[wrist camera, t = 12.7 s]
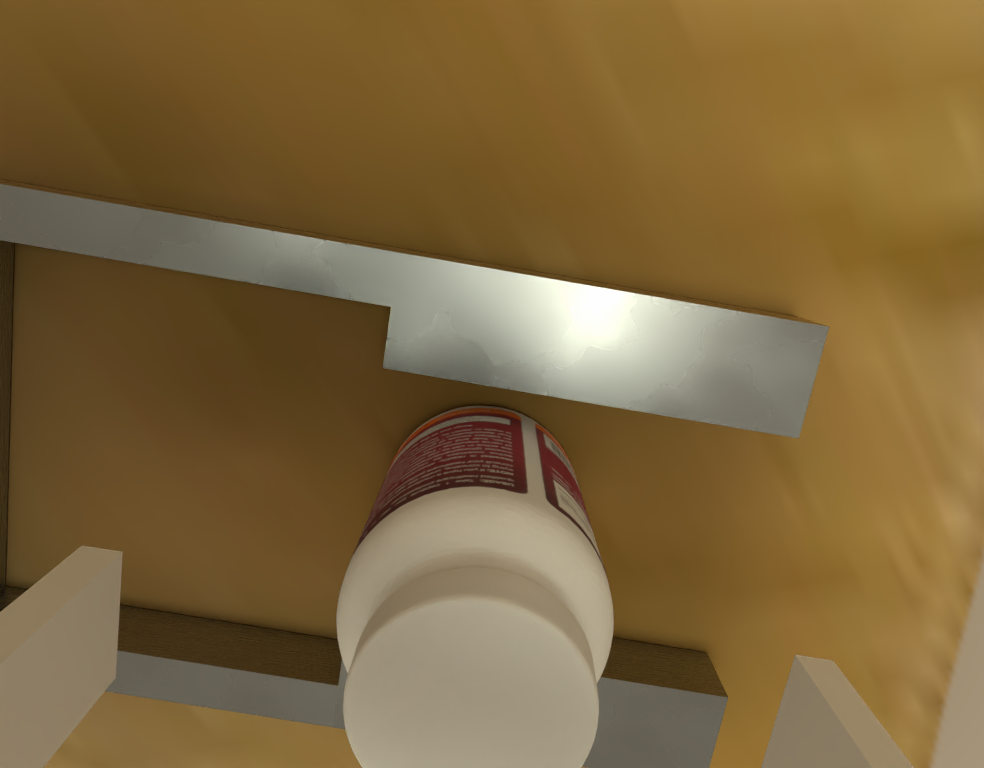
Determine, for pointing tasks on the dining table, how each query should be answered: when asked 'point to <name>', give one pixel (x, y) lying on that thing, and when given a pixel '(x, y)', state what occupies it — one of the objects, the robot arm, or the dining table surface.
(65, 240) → the grey u-shaped frame
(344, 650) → the pill bottle
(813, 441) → the dining table surface
